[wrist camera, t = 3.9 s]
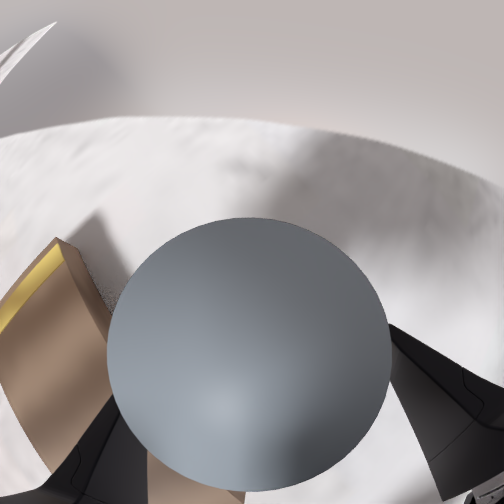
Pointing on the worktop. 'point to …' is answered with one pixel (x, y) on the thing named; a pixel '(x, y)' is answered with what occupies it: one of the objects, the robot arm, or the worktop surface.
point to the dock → (70, 367)
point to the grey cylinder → (249, 354)
